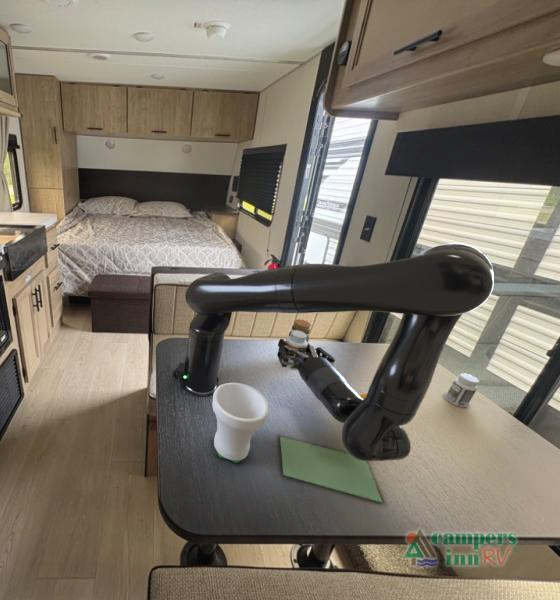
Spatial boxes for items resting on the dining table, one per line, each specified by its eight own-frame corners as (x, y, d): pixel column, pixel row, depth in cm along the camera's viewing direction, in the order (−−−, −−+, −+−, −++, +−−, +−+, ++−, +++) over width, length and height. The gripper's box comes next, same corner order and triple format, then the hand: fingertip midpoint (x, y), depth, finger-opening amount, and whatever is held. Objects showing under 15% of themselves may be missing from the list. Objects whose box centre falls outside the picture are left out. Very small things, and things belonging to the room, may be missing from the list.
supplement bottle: (292, 373, 82) (302, 341, 78) (275, 362, 87) (283, 331, 82) (304, 367, 85) (314, 335, 81) (287, 356, 89) (296, 326, 85)
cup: (194, 443, 68) (201, 394, 62) (227, 421, 74) (236, 375, 69) (233, 482, 60) (246, 430, 54) (266, 454, 66) (280, 405, 61)
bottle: (280, 356, 102) (290, 317, 95) (298, 358, 101) (309, 319, 95) (284, 367, 96) (295, 326, 90) (303, 369, 96) (315, 328, 89)
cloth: (283, 475, 62) (283, 474, 62) (279, 437, 71) (279, 436, 71) (381, 503, 58) (382, 502, 58) (364, 458, 67) (365, 457, 67)
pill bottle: (466, 401, 86) (481, 377, 83) (466, 409, 83) (482, 385, 79) (445, 392, 89) (458, 369, 86) (444, 400, 86) (458, 377, 82)
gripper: (358, 367, 70) (318, 330, 85) (298, 367, 68) (269, 329, 84) (348, 393, 73) (311, 353, 88) (291, 393, 71) (263, 352, 87)
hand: (290, 341), depth 86 cm, fingers closed on supplement bottle, 5 cm apart
